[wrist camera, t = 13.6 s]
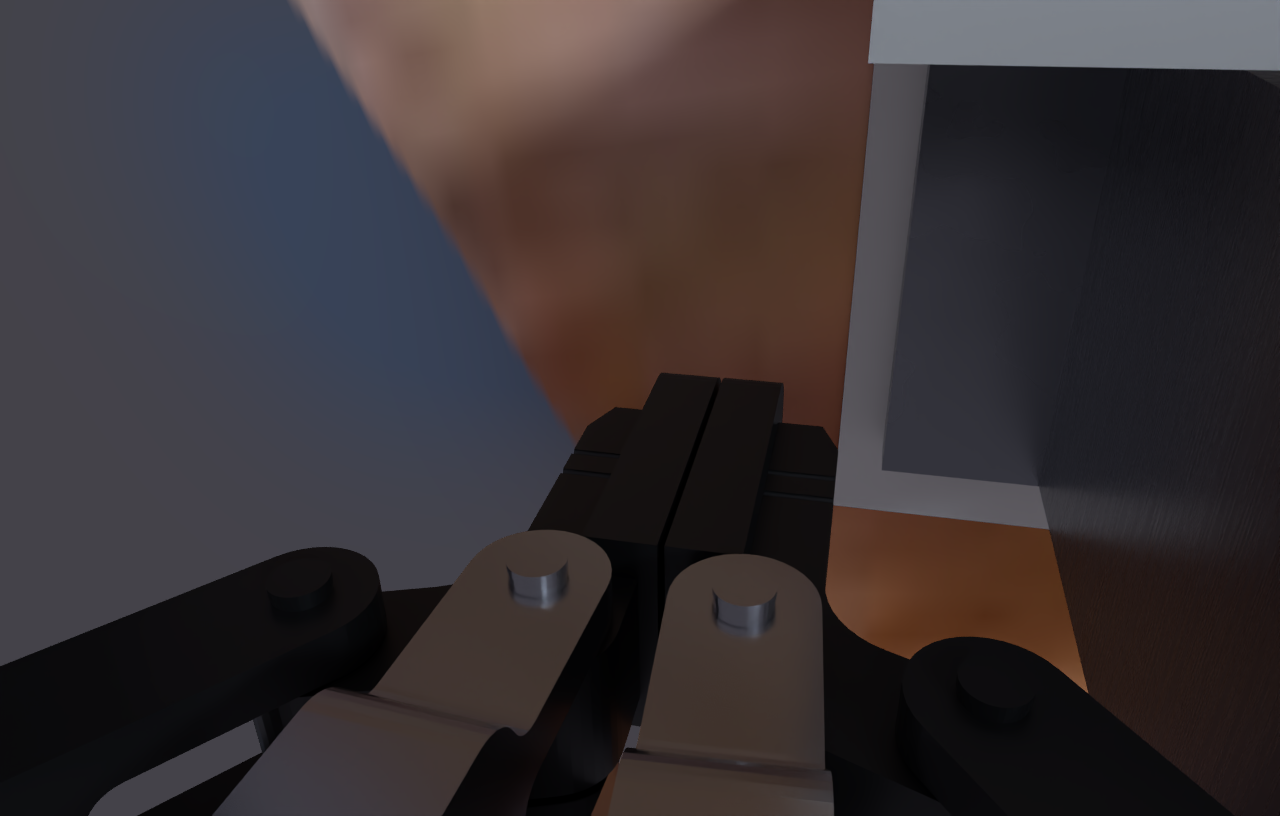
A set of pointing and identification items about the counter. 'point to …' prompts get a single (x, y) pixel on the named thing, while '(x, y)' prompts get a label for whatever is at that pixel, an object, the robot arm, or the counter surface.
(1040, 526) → the book rack
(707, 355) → the counter surface
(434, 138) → the counter surface
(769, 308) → the counter surface
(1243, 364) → the bookend
